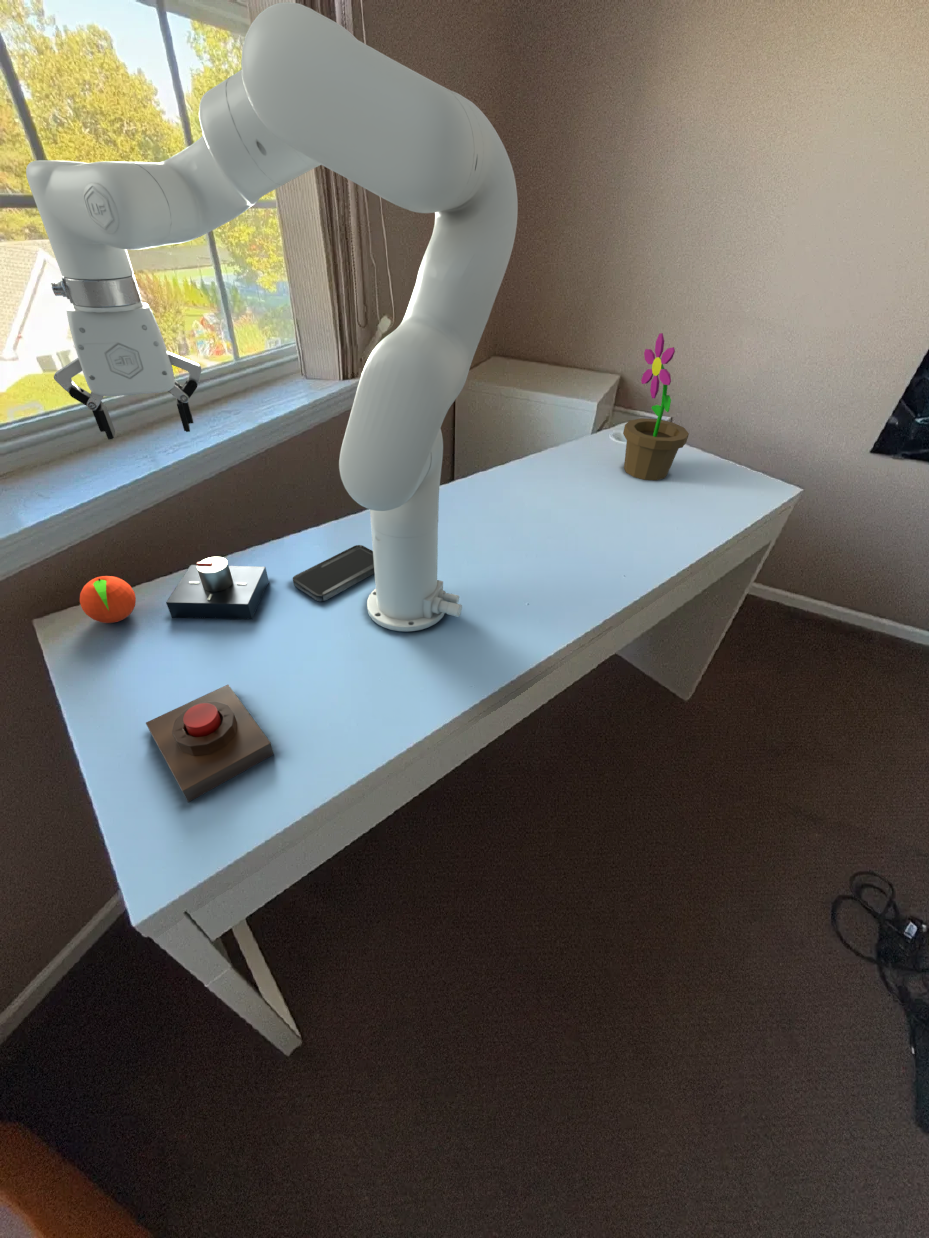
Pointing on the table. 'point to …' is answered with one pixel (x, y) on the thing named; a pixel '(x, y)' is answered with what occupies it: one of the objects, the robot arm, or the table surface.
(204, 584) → the hob knob
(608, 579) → the table surface
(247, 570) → the panel
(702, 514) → the table surface
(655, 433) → the flowerpot
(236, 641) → the table surface
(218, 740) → the button block
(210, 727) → the button
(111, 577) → the clementine
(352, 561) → the phone
